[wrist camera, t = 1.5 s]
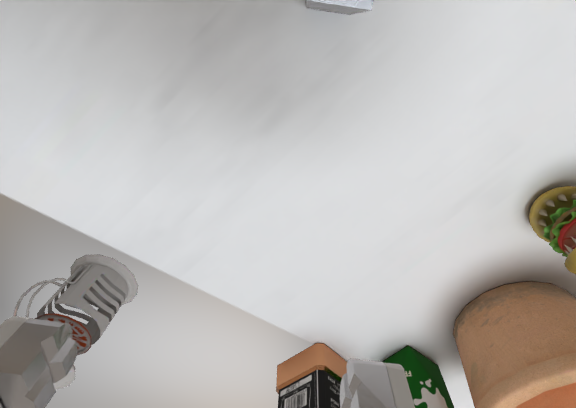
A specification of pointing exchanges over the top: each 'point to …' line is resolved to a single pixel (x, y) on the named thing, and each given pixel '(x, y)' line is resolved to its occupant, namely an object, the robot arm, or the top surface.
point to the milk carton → (422, 379)
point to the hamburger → (557, 221)
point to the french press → (88, 300)
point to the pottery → (520, 346)
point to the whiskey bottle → (311, 379)
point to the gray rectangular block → (341, 6)
